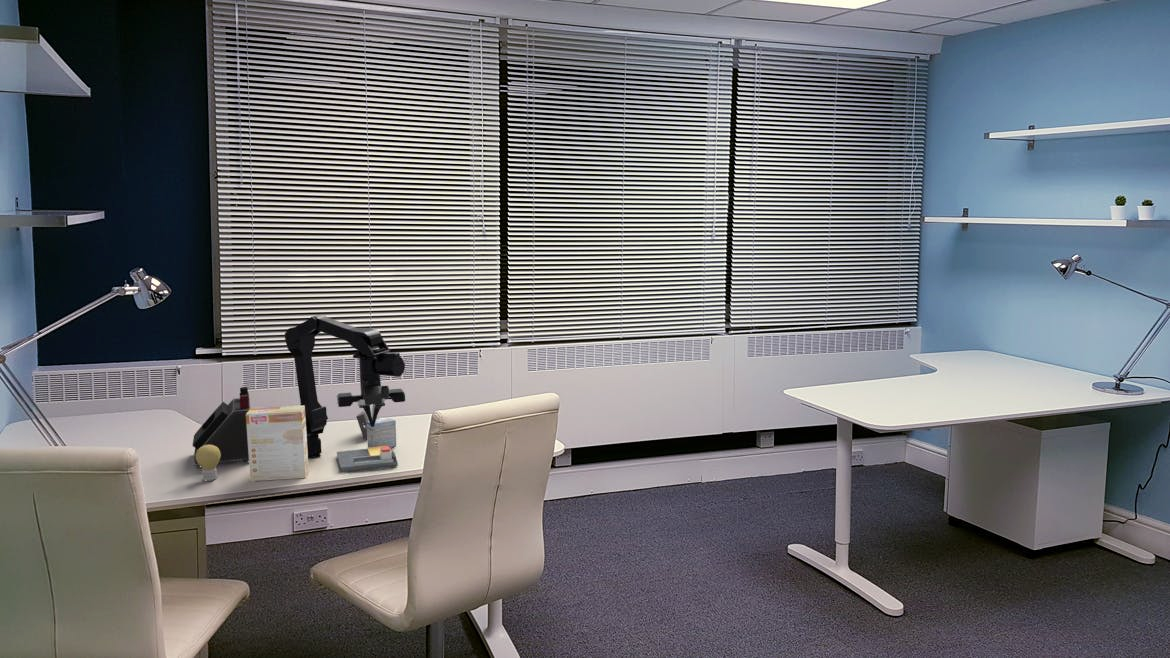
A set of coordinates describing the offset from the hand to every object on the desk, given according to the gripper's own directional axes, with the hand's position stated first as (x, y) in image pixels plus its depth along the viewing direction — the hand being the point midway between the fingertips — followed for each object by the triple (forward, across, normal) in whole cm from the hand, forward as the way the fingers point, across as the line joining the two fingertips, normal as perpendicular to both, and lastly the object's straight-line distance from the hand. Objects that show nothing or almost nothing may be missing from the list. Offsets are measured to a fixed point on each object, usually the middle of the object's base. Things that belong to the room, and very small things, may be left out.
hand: (372, 426), depth 263 cm
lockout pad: (+10, +2, +8) cm, 13 cm away
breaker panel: (+12, -2, +5) cm, 13 cm away
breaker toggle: (+10, +3, 0) cm, 11 cm away
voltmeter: (+12, -42, +23) cm, 49 cm away
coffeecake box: (+12, -26, 0) cm, 29 cm away
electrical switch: (+12, +2, +33) cm, 35 cm away
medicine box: (+12, +4, +18) cm, 22 cm away
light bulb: (+12, -45, +3) cm, 46 cm away
